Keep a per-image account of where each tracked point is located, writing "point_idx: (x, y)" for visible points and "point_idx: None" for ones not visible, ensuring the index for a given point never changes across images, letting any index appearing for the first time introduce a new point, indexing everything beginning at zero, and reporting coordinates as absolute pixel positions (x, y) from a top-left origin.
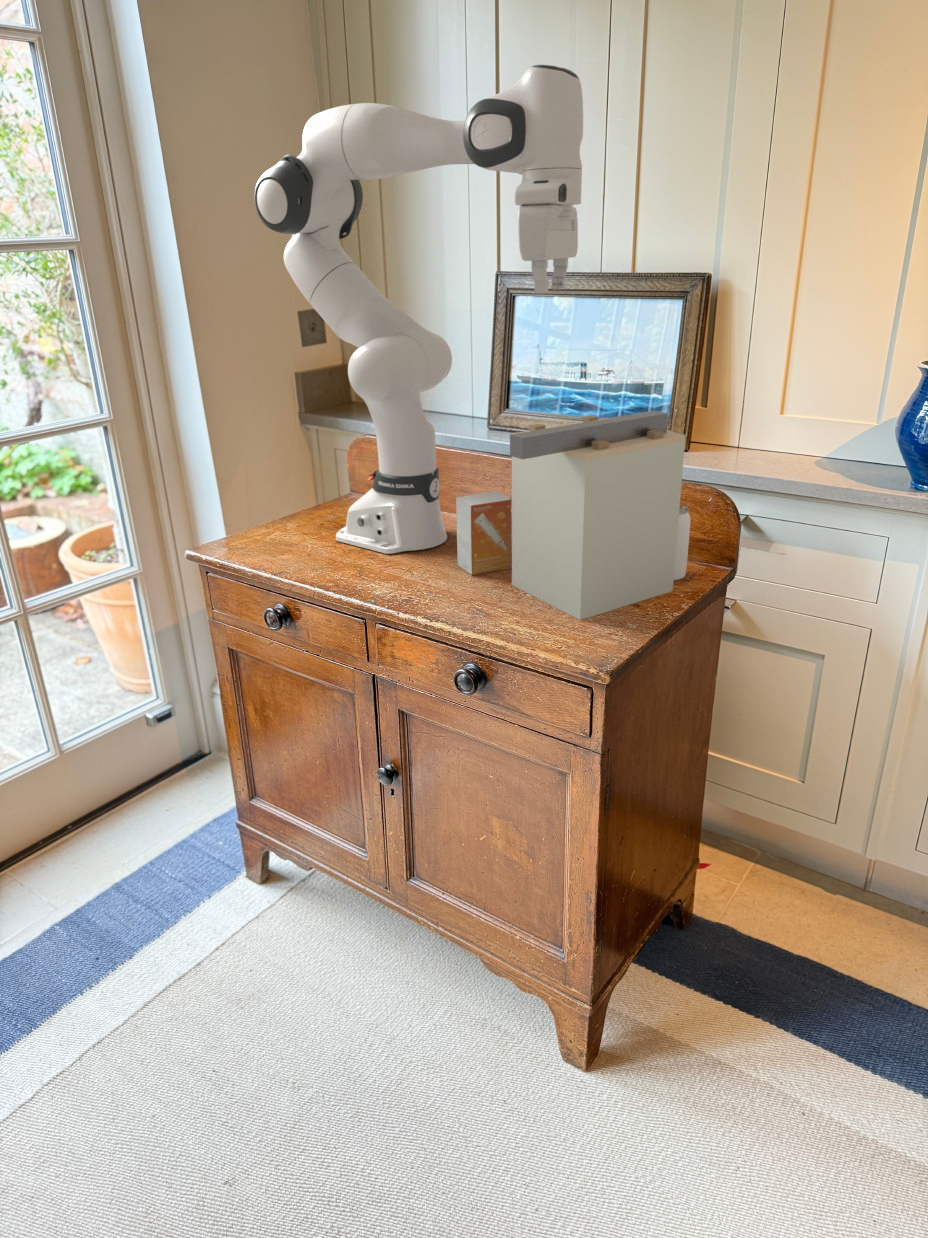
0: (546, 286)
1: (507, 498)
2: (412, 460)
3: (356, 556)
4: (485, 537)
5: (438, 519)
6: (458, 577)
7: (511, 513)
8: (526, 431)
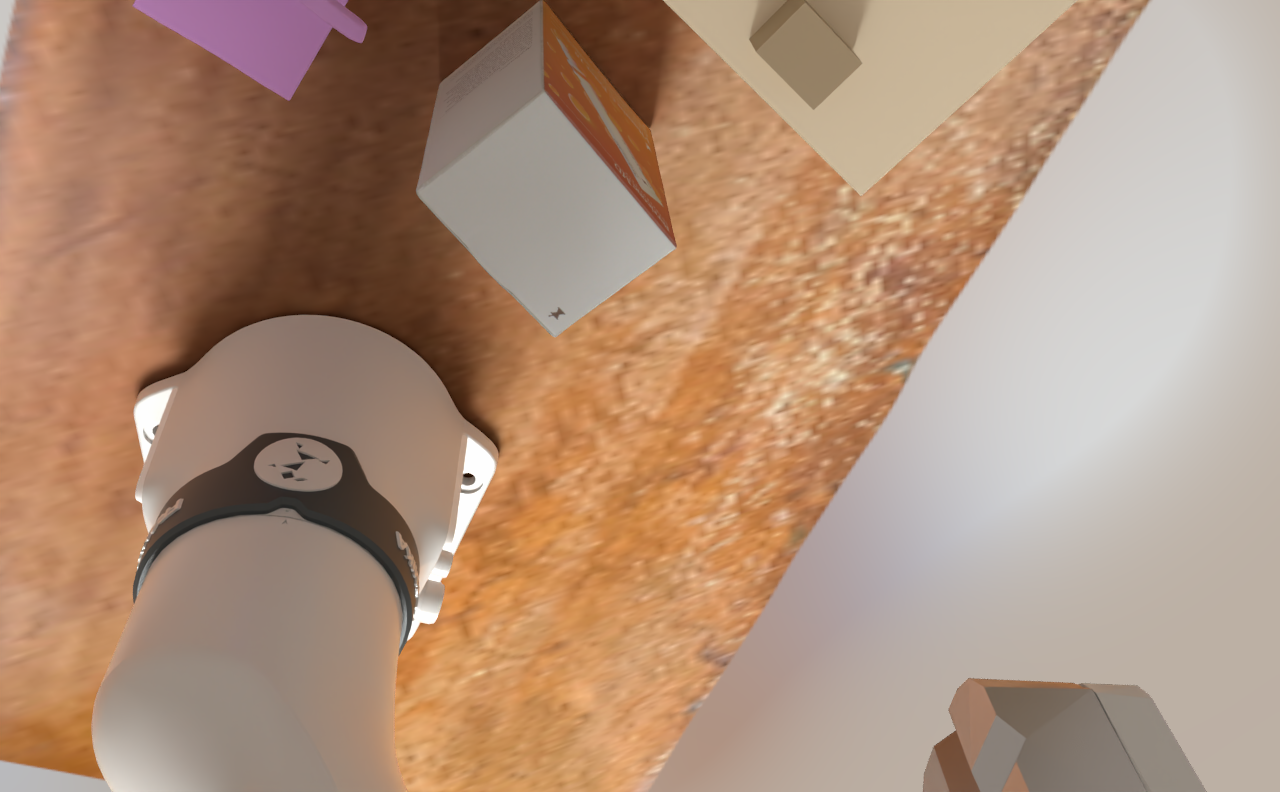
0: (1150, 744)
1: (534, 112)
2: (374, 613)
3: (535, 531)
4: (624, 137)
5: (312, 380)
6: (670, 173)
7: (293, 92)
8: (797, 117)
